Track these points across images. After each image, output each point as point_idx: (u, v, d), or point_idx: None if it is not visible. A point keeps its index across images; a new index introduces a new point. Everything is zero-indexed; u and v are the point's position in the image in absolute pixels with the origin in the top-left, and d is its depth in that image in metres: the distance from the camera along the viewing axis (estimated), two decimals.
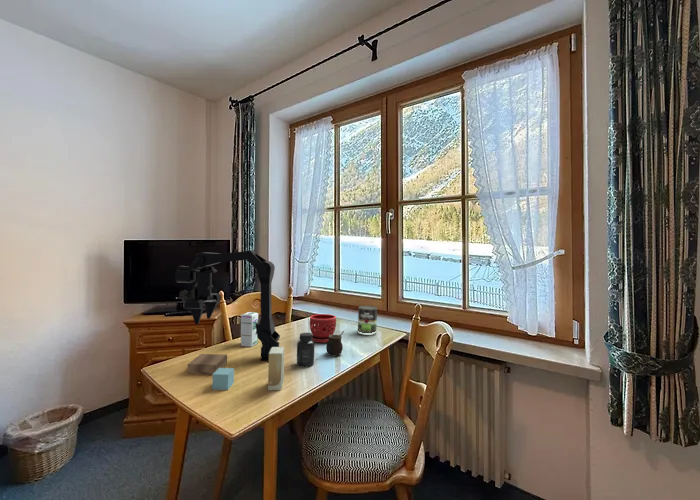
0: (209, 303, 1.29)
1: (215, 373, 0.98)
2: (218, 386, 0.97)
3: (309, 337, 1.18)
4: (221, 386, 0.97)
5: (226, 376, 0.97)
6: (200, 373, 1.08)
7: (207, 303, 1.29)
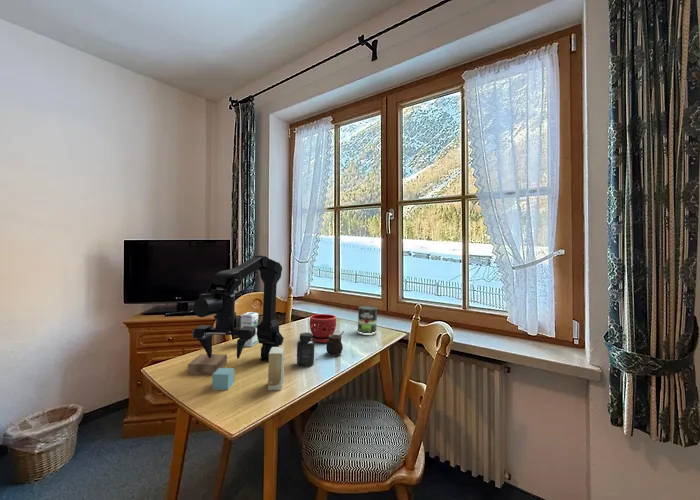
0: None
1: (215, 373, 0.98)
2: (218, 386, 0.97)
3: (309, 337, 1.18)
4: (221, 386, 0.97)
5: (226, 376, 0.97)
6: (200, 373, 1.08)
7: None
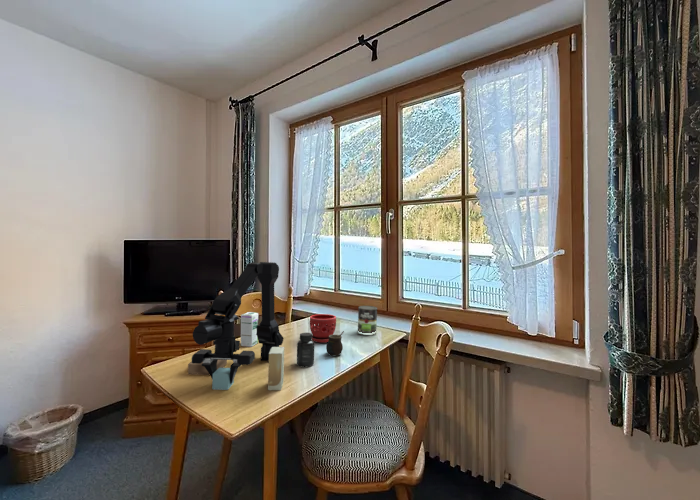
0: None
1: (215, 373, 0.98)
2: (218, 386, 0.97)
3: (309, 337, 1.18)
4: (221, 386, 0.97)
5: (226, 376, 0.97)
6: (200, 373, 1.08)
7: None
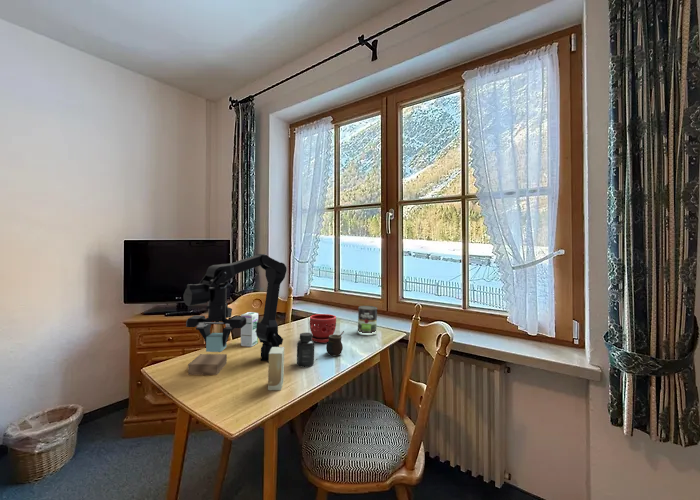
0: None
1: (209, 336, 1.04)
2: (212, 348, 1.03)
3: (309, 337, 1.18)
4: (214, 348, 1.03)
5: (219, 339, 1.03)
6: (201, 373, 1.08)
7: None
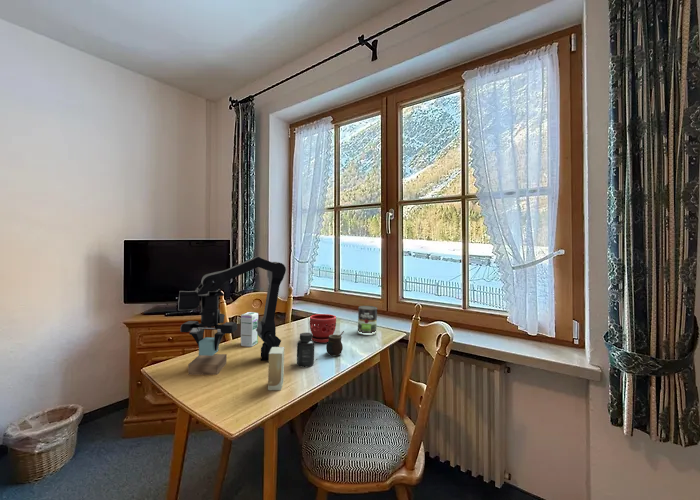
0: None
1: (201, 341, 1.11)
2: (204, 352, 1.10)
3: (309, 337, 1.18)
4: (207, 352, 1.10)
5: (211, 343, 1.10)
6: (201, 373, 1.08)
7: None
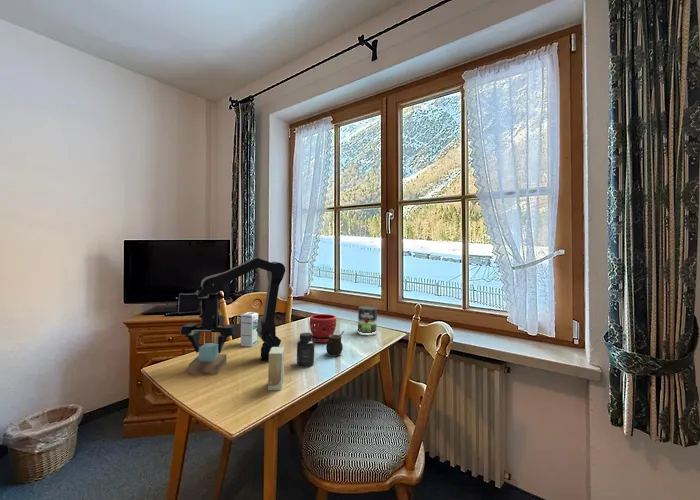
0: None
1: (201, 347, 1.11)
2: (204, 358, 1.10)
3: (309, 337, 1.18)
4: (206, 358, 1.10)
5: (211, 350, 1.10)
6: (201, 373, 1.08)
7: None
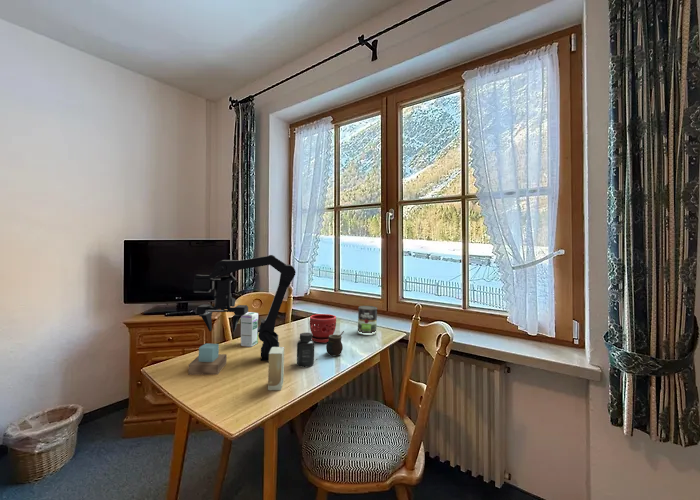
0: None
1: (201, 347, 1.11)
2: (204, 359, 1.10)
3: (309, 337, 1.18)
4: (206, 358, 1.10)
5: (210, 350, 1.10)
6: (201, 373, 1.08)
7: None
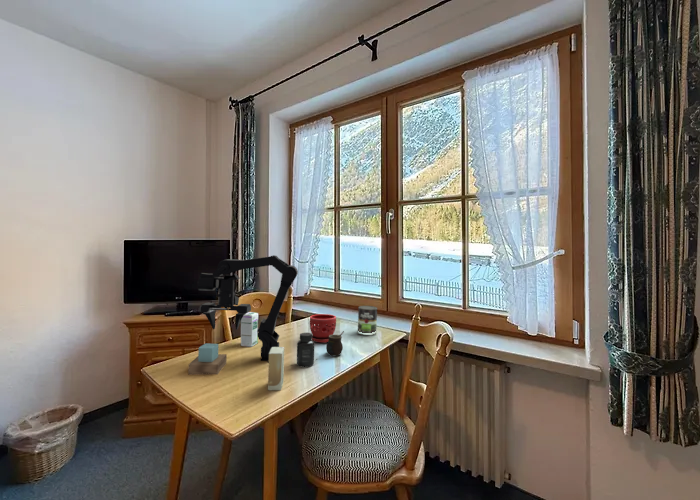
0: None
1: (201, 347, 1.11)
2: (203, 358, 1.10)
3: (309, 337, 1.18)
4: (206, 358, 1.10)
5: (210, 350, 1.10)
6: (201, 373, 1.08)
7: None
